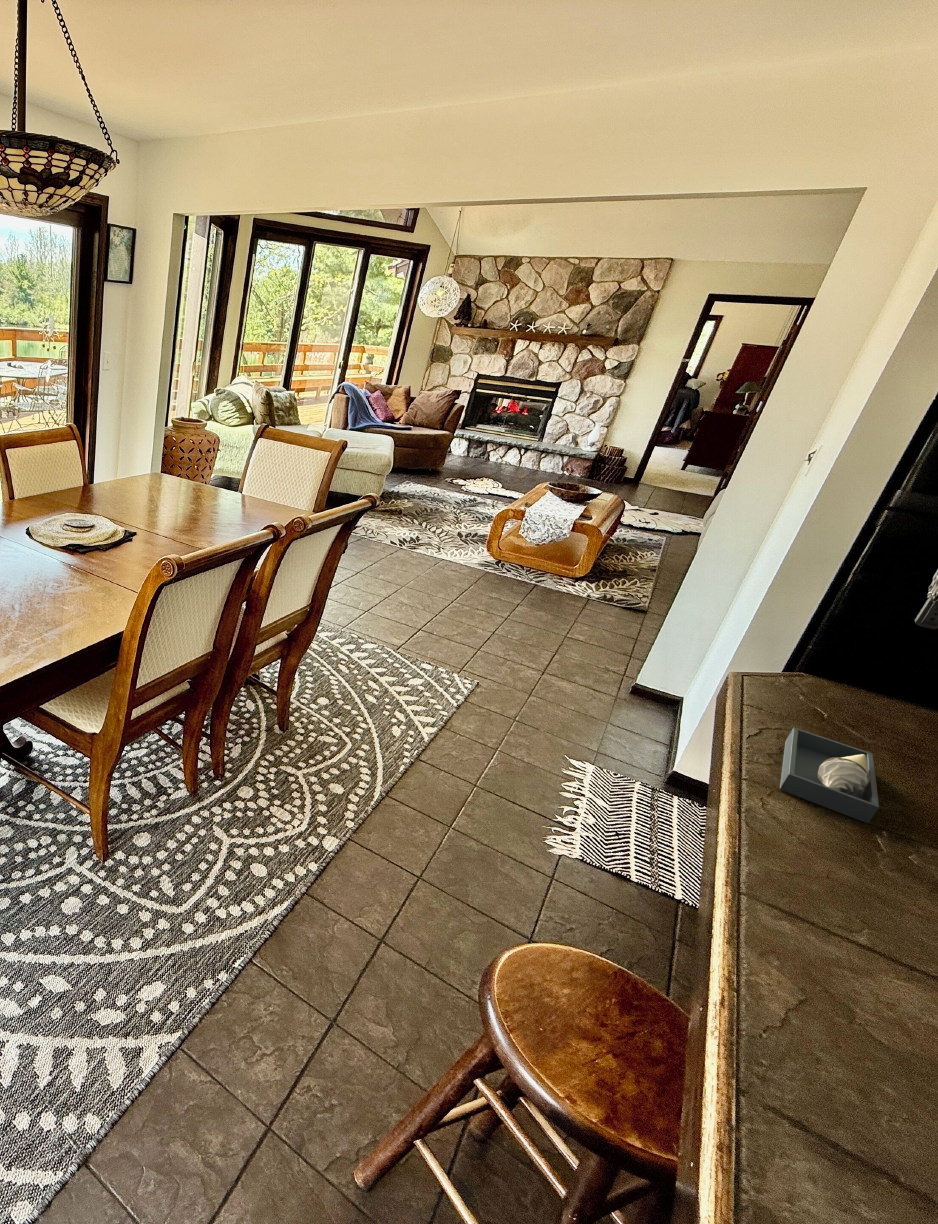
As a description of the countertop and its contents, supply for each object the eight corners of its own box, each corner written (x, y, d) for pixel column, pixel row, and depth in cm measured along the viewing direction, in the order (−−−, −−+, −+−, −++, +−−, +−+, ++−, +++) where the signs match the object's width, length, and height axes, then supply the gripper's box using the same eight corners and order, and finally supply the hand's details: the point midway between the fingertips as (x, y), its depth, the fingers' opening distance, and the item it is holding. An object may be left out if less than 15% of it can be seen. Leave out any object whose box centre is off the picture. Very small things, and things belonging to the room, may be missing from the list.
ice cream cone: (893, 749, 95) (858, 784, 89) (881, 777, 97) (846, 814, 91) (845, 734, 99) (808, 767, 93) (834, 761, 101) (797, 796, 95)
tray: (785, 741, 108) (793, 727, 107) (862, 768, 102) (872, 753, 101) (779, 789, 95) (788, 773, 94) (868, 823, 89) (879, 807, 88)
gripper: (1061, 520, 76) (973, 648, 83) (1037, 507, 85) (959, 624, 92) (965, 506, 81) (889, 628, 88) (951, 495, 90) (883, 607, 97)
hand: (925, 626), depth 90 cm, fingers closed
